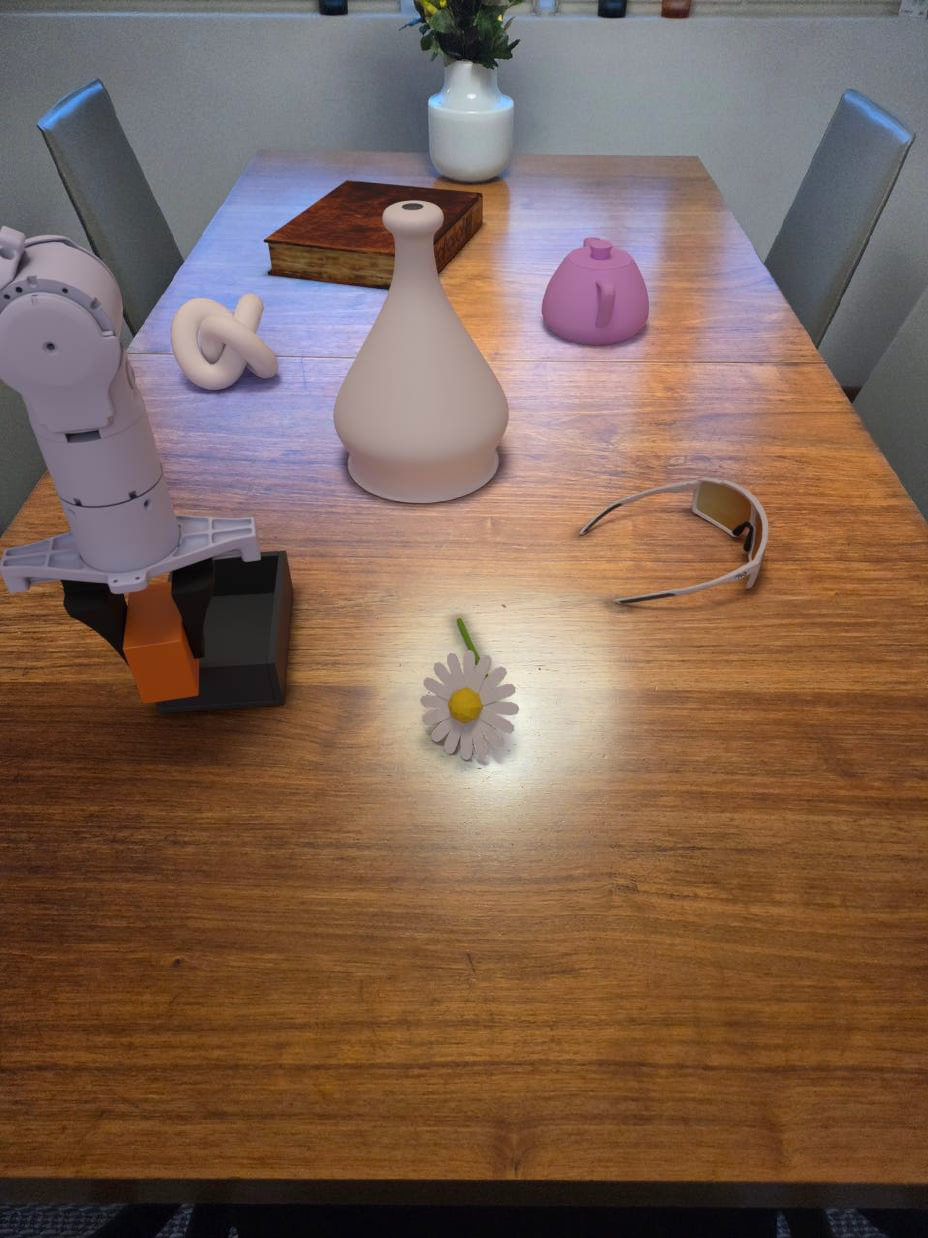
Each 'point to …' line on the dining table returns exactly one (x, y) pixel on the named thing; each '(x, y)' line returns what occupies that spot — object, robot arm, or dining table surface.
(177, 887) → the dining table surface
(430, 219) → the vase
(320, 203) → the book
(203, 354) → the beige knot sculpture
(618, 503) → the sunglasses
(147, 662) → the block
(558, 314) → the teapot
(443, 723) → the decorative flower
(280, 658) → the open box
